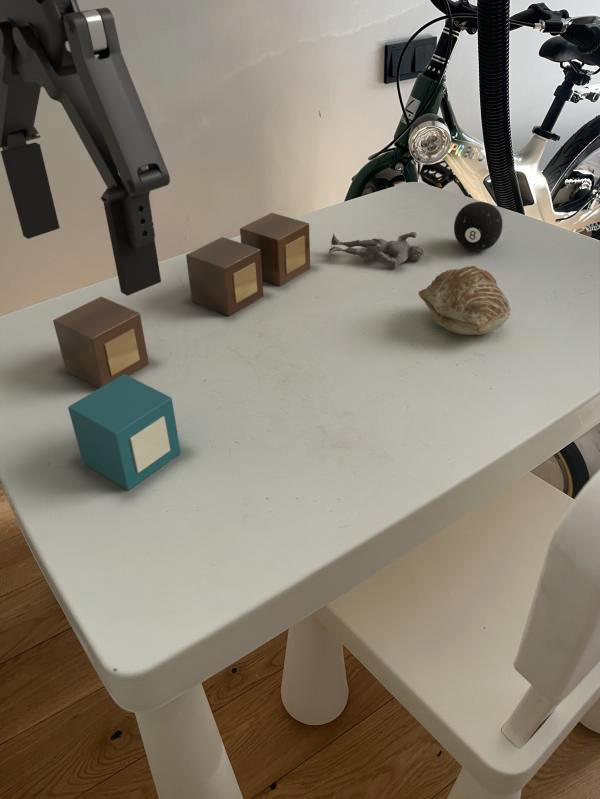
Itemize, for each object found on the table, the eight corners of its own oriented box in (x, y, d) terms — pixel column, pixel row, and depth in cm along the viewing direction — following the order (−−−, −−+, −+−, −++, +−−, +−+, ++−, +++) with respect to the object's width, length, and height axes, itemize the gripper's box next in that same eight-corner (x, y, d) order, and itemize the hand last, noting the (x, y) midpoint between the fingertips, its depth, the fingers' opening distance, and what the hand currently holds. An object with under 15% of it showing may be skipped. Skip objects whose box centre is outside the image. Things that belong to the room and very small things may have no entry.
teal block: (82, 462, 63) (67, 406, 60) (135, 427, 67) (124, 373, 64) (129, 492, 60) (116, 434, 57) (182, 453, 64) (173, 398, 60)
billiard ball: (503, 242, 97) (509, 198, 93) (493, 261, 92) (499, 215, 89) (458, 236, 99) (462, 192, 95) (446, 254, 95) (451, 209, 91)
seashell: (464, 361, 75) (518, 331, 79) (469, 303, 71) (527, 274, 74) (403, 321, 81) (456, 295, 85) (405, 266, 77) (460, 240, 80)
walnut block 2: (191, 301, 86) (185, 254, 83) (226, 282, 90) (222, 236, 86) (230, 317, 83) (225, 268, 80) (264, 296, 87) (261, 249, 83)
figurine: (330, 221, 95) (424, 218, 92) (334, 244, 98) (425, 242, 95) (324, 254, 91) (421, 251, 89) (328, 277, 94) (423, 275, 92)
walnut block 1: (65, 371, 75) (52, 319, 72) (111, 345, 79) (101, 296, 75) (104, 391, 72) (92, 339, 68) (150, 364, 76) (141, 313, 72)
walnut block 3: (243, 273, 92) (239, 228, 88) (274, 256, 96) (271, 212, 92) (281, 286, 89) (278, 240, 85) (311, 268, 92) (310, 223, 89)
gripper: (203, -101, 35) (239, 294, 48) (-24, -101, 50) (49, 201, 62) (63, -92, 31) (142, 338, 44) (-139, -95, 46) (-37, 227, 58)
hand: (87, 258), depth 53 cm, fingers open, 13 cm apart
